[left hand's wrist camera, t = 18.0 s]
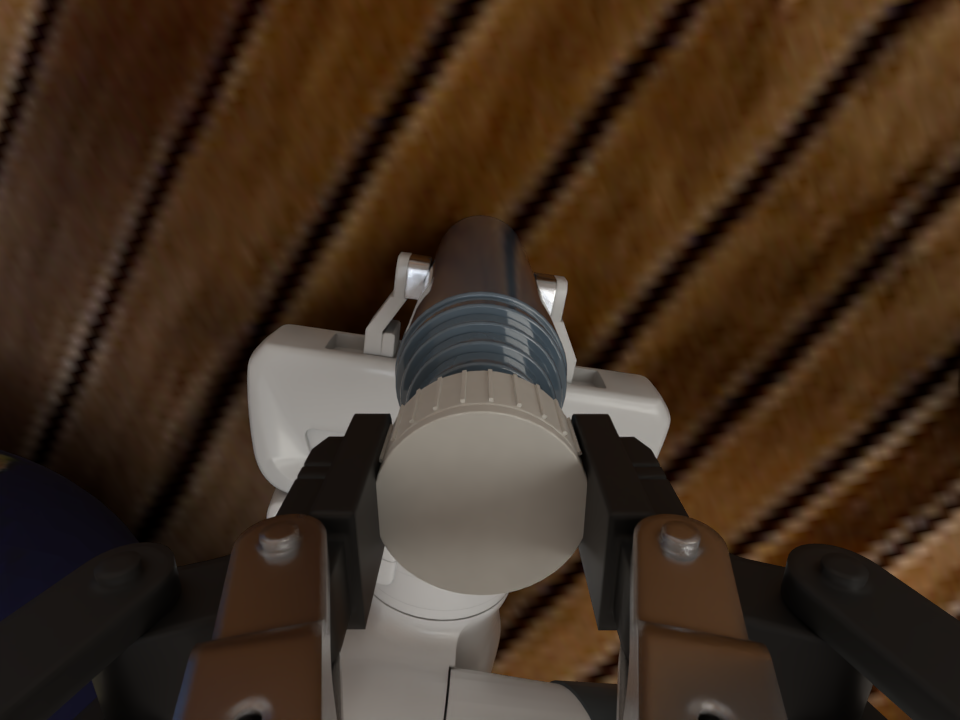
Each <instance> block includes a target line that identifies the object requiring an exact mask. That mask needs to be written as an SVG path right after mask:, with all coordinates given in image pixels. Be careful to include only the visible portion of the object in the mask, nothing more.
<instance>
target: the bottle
mask: <svg viewBox="0 0 960 720" xmlns="http://www.w3.org/2000/svg"><path fill="white" fill-rule="evenodd" d="M488 369H492V371H495V372H501V373H506V374H510V375H513V374H517V376H518V377H519V378H522V379H524V380H526V381H528V382H530V383H532V384H534V385H536V384H538V385H539V386H540V389H541V390H543V391H544V392H545V393H547V394H548V395H549V396H550V397H551V398H552V399H553V400H554V399H556V400H557V401H558V403H559V406H560V408H561V410H562V407H563V404H564V401H565V397H566V390H567V361H566V355H565V351H564V348H563V345H562V342H561V340H560V337H559V335H558V332H557V330H556V328H555V325H554V323H553V320H552V318H551V315H550V313H549V310H548V308H547V305H546V303H545V301H544V298H543V296H542V293H541V291H540V288H539V286H538V283H537V281H536V278H535V276H534V273H533V271H532V269H531V266H530V264H529V261H528V259H527V256H526V254H525V251H524V249H523V246H522V244H521V242H520V240H519V238H518V236H517V235H516V233H515V232H514V231H513V229H512V228H511V227H509V226H508V225H507V224H506V223H504V222H503V221H501V220H499V219H496V218H493V217H489V216H472V217H468V218H465V219H463V220H461V221H459V222H457V223H456V224H454V225H453V226H452V227H451V228H450V229H449V230H448V231H447V232H446V233H445V235H444V236H443V238H442V240H441V242H440V245H439V247H438V250H437V252H436V255H435V257H434V260H433V262H432V265H431V267H430V270H429V272H428V275H427V277H426V280H425V282H424V285H423V287H422V290H421V292H420V295H419V298H418V300H417V303H416V305H415V308H414V310H413V313H412V315H411V318H410V320H409V323H408V325H407V328H406V330H405V333H404V335H403V338H402V340H401V343H400V346H399V349H398V352H397V356H396V363H395V388H396V395H397V400H398V403H399V407H401V405H404V406H405V404H406V403H407V402H408V401H409V400H410V399H411V398H412V397H413V396H414V395H415V394H416V391H417V390H418V389H419V388H420V389H421V390H422V389H423V388H424V387H426V386H428V385H430V384H431V383H433V382H435V381H437V380H438V378H439V377H442V378H444V377H447V376H450V375H453V374H457V373H462V371H463V370H466V371H467V372H468V371H488Z"/></svg>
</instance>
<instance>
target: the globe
mask: <svg viewBox="0 0 960 720" xmlns="http://www.w3.org/2000/svg"><path fill="white" fill-rule="evenodd" d="M133 543H139V541H138V540H137V539H136V538H135V536H134V535H133V534H132V532H131V531H130V530H129V529H128V527H127V526H126V525H125V524H124V523H123V522H122V521H121V520H120V519H119V518H118V517H117V516H116V515H115V514H114V513H113V512H112V511H111V510H110V509H108V508H107V507H106V506H105V505H104V504H103V503H102V502H101V501H99V500H98V499H97V498H95V497H94V496H92V495H91V494H90V493H88V492H87V491H85V490H84V489H82V488H81V487H79V486H78V485H76V484H75V483H73V482H72V481H70V480H69V479H67V478H65V477H63V476H61V475H60V474H58V473H56V472H54V471H52V470H50V469H48V468H46V467H44V466H42V465H40V464H37V463H35V462H33V461H31V460H28V459H26V458H23V457H20V456H18V455H15V454H12V453H9V452H6V451H3V450H0V621H2V620H3V619H4V618H6V617H7V616H9V615H10V614H12V613H13V612H15V611H16V610H18V609H19V608H20V607H22V606H23V605H25V604H26V603H28V602H29V601H31V600H32V599H34V598H35V597H36V596H38V595H39V594H41V593H42V592H44V591H45V590H47V589H48V588H49V587H51V586H52V585H54V584H55V583H57V582H58V581H60V580H61V579H63V578H64V577H65V576H67V575H68V574H70V573H71V572H73V571H74V570H76V569H77V568H79V567H80V566H81V565H83V564H84V563H86V562H87V561H89V560H91V559H92V558H94V557H96V556H98V555H100V554H102V553H104V552H106V551H109V550H111V549H114V548H117V547H120V546H124V545H128V544H133ZM96 697H97V695H96V692H95V689H94V686H93V683H92V680H91V681H90V682H89V683H88V684H87V685H86V686H84V687H83V688H82V689H81V690H80V691H79V692H78V693H77V694H75V695H74V696H73V697H72V698H71V699H70V700H69V701H68V702H66V703H65V704H64V705H63V706H62V707H61V708H60V709H59V710H57V711H56V712H55V713H54V714H53V715H52V716H51V717H50V718H48V719H47V720H73V719H74V718H75V717H76V716H77V715H78V714H79V713H80V712H81V711H82V710H84V709H85V708H86V707H87V706H88V705H89V704H90V703H91V702H92V701H93V700H94V699H95V698H96Z"/></svg>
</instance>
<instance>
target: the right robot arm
mask: <svg viewBox="0 0 960 720" xmlns="http://www.w3.org/2000/svg"><path fill="white" fill-rule="evenodd" d="M431 265H432V257H430V256H424V255H418V254H413V253H407V252H401V253H400V255H399V256H398V261H397V266H396V275H395V284H394V290H393V291H392V293H391V294H390V295H389V297H388V298H387V299H386V301H385V302H384V303H383V304H382V306H381V307H380V308H379V310H378V311H377V312H376V314H375V315H374V316H373V318H372V320H371V321H370V323H369V324H368V326H367V328H366V330H365V335H362V334H355V333H348V332H341V331H334V330H327V329H320V328H313V327H307V326H300V325H293V324H286V325H283V326H281V327H280V328H278V329H277V330H276V331H274V332H273V333H272V334H270V335H269V336H268V337H267V338H265V339H264V340H263V341H262V342H261V343H260V345H259V346H258V347H257V348H256V349H255V350H254V352H253V353H252V355H251V357H250V359H249V363H248V373H247V393H248V410H249V421H250V430H251V437H252V444H253V450H254V454H255V458H256V461H257V464H258V466H259V469H260V471H261V472H262V474H263V475H264V477H265V478H266V479H267V480H268V481H269V482H270V483H271V484H272V485H273V486H275V487H276V489H275V491H274V493H273V496H272V498H271V501H270V504H269V507H268V511H267V518H271V517H274V516H276V514H277V512H278V510H279V508H280V507H281V505H282V503H283V501H284V499H285V497H286V496H287V494H288V492H289V490H290V488H291V486H292V485H293V483H294V481H295V479H297V475H298V474H299V472H300V470H301V468H302V467H304V463H305V461H306V459H307V457H308V455H309V453H310V452H311V450H312V449H313V448H314V447H315V446H317V445H318V444H319V443H321V442H322V441H323V440H325V439H326V438H327V437H329V436H344V435H345V433H346V431H347V429H348V427H349V424H350V422H351V420H352V418H353V416H354V414H390V415H391V418H392V425H393V424H394V422H395V420H396V418H397V416H398V413H399V409H400V407H399V403H398V400H397V395H396V388H395V363H396V356H397V352H398V349H399V346H400V343H401V340H399V337H400V326H401V323H400V321H398V320H392V318H393V317H394V316H395V315H396V313H397V312H398V311H399V309H400V308H401V307H402V305H403V304H404V303H405V301H406V300H407V299H416V300H418V298H419V295H420V292H421V290H422V287H423V285H424V282H425V280H426V277H427V275H428V272H429V270H430V267H431ZM534 276H535V278H536V281H537V283H538V286H539V288H540V291H541V293H542V296H543V298H544V301H545V303H546V305H547V308H548V310H549V313H550V315H551V318H552V320H553V323H554V325H555V328H556V330H557V332H558V335H559V337H560V340H561V342H562V345H563V348H564V351H565V355H566V361H567V390H566V397H565V401H564V404H563V407H562V411H563V413H564V414H565V416H566V417H567V418H568V417H570V419H571V418H572V415H573V414H608V415H609V416H610V418H611V420H612V422H613V424H614V426H615V429H616V431H617V433H618V435H619V437H635V438H637V439H638V440H639V441H641V442H642V443H643V444H645V445H646V446H647V447H649V448H650V449H651V450H652V451H653V453H654V455H655V457H656V459H657V457H658V455H659V453H660V450H661V448H662V445H663V443H664V440H665V438H666V435H667V432H668V429H669V426H670V413H669V410H668V408H667V406H666V404H665V402H664V400H663V398H662V397H661V395H660V394H659V392H658V391H657V389H656V388H655V387H654V386H653V384H652V383H651V382H650V381H649V380H648V379H647V378H646V377H644V376H642V375H637V374H630V373H623V372H616V371H609V370H602V369H595V368H588V367H582V366H575V365H576V361H577V360H576V357H575V354H574V351H573V348H572V346H571V343H570V340H569V337H568V334H567V331H566V328H565V325H564V322H563V320H562V313H563V308H564V304H565V299H566V294H567V286H568V283H567V280H566V279H565V277H562V276H556V275H549V274H542V273H535V272H534ZM508 593H509V592H508ZM508 593H503V594H496V595H467V594H460V593H455V592H451V591H447V590H444V589H440V588H438V587H435V586H433V585H430V584H428V583H426V582H424V581H422V580H421V579H419V578H417V577H415V576H414V575H413V574H411V573H410V572H408V571H407V570H406V569H405V568H404V567H402V566H401V565H400V564H399V563H398V562H397V561H396V560H395V559H394V557H393V556H392V555H391V554H390V553H389V551H388V550H387V548H386V547H384V552H383V556H382V560H381V565H380V569H379V573H378V577H377V582H376V586H375V590H374V595H373V599H372V603H371V607H370V612H369V616H368V620H367V624H366V629H347V631H346V634H345V638H344V642H343V645H342V648H341V651H340V653H341V662H342V686H343V719H344V720H616V719H617V686H618V684H606V683H590V682H573V681H557V680H555V681H551V682H543V681H537V680H530V679H524V678H518V677H511V676H505V675H499V674H493V673H491V672H492V668H493V664H494V660H495V656H496V653H497V648H498V644H499V639H500V632H501V620H500V613H499V608H500V607H501V605H502V604H503V602H504V601H505V599H506V597H507V595H508Z"/></svg>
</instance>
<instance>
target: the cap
mask: <svg viewBox="0 0 960 720" xmlns="http://www.w3.org/2000/svg"><path fill="white" fill-rule="evenodd" d="M581 454H582V452H581V449H580V446H579V443H578V440H577V437H576V434H575V431H574V428H573V425H572V422H571V419H570V417H568V418H567V417H566V416H565V414H564V413H563V411H562V410H561V408H560V406H559V403H558V401H557V400H556V399H554V400H553V399H552V398H551V397H550V396H549V395H548V394H547V393H545V392H544V391H543V390H541V389H540V386H539V385H538V384H536V385H534V384H532V383H530V382H528V381H526V380H524V379H522V378H519V377H518V376H517V374H513V375H510V374H506V373H501V372H495V371H492V369H488V371H468V372H467V371H466V370H463V371H462V373H457V374H453V375H450V376H447V377H444V378H442V377H439V378H438V380H437V381H435V382H433V383H431V384H430V385H428V386H426V387H424V388H423V389H422V390H421V389H420V388H419V389H418V390H417V391H416V394H415V395H414V396H413V397H412V398H411V399H410V400H409V401H408V402H407V403H406V404H405V406H404V405H401V407H400V409H399V413H398V416H397V418H396V420H395V422H394V424H393V425H392V424H390V426H389V429H388V432H387V436H386V439H385V442H384V445H383V448H382V451H381V455H380V458H379V462H380V463H381V465H380V468H379V472H378V475H377V478H376V491H377V504H378V517H379V530H380V538H381V540H382V542H383V543H384V545H385V547H386V548H387V550H388V551H389V553H390V554H391V555H392V556H393V557H394V559H395V560H396V561H397V562H398V563H399V564H400V565H401V566H402V567H404V568H405V569H406V570H407V571H408V572H410V573H411V574H413V575H414V576H415V577H417V578H419V579H421V580H422V581H424V582H426V583H428V584H430V585H433V586H435V587H438V588H440V589H444V590H447V591H451V592H455V593H460V594H467V595H496V594H503V593H508V592H512V591H517V590H520V589H523V588H525V587H528V586H531V585H533V584H535V583H537V582H539V581H541V580H543V579H545V578H546V577H548V576H549V575H551V574H552V573H554V572H555V571H556V570H557V569H559V568H560V567H561V566H562V565H563V564H564V563H565V562H566V561H567V560H568V559H569V558H570V557H571V556H572V554H573V553H574V552H575V550H576V549H577V547H578V546H579V544H580V542H581V540H582V538H583V532H584V519H585V507H586V494H587V476H586V473H585V470H584V467H583V463H582V460H581V457H580V455H581Z"/></svg>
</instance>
